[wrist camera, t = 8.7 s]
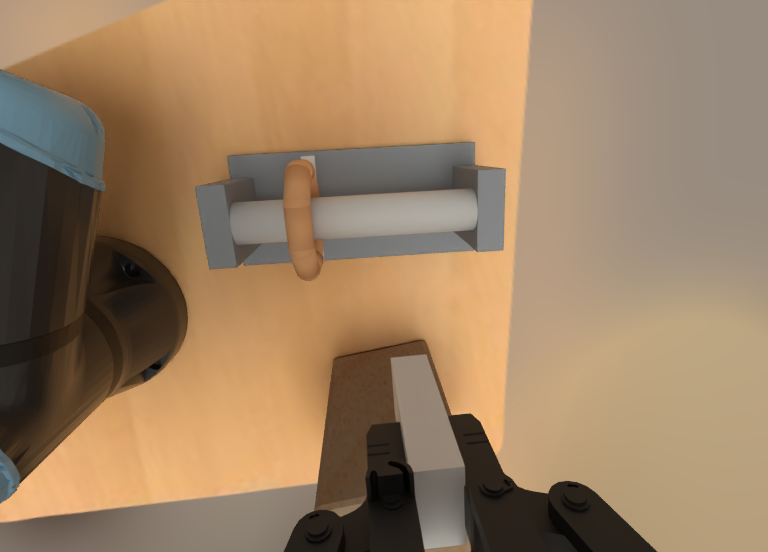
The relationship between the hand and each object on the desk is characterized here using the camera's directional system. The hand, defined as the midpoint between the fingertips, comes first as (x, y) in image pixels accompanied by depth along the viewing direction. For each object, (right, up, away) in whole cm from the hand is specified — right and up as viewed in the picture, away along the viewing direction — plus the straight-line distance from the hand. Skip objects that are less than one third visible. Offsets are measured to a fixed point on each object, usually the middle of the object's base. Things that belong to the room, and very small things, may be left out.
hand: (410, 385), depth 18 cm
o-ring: (-7, +10, +19) cm, 22 cm away
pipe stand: (-4, +11, +22) cm, 25 cm away
